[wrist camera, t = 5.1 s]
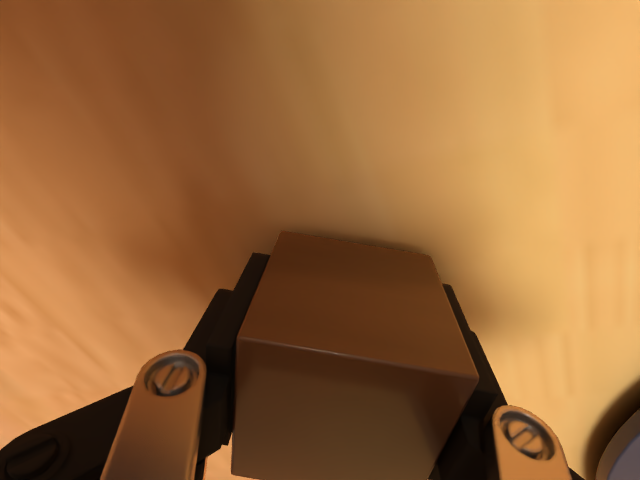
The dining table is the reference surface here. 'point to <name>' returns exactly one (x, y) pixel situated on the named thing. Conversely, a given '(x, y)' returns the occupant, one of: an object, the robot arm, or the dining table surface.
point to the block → (347, 365)
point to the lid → (622, 453)
